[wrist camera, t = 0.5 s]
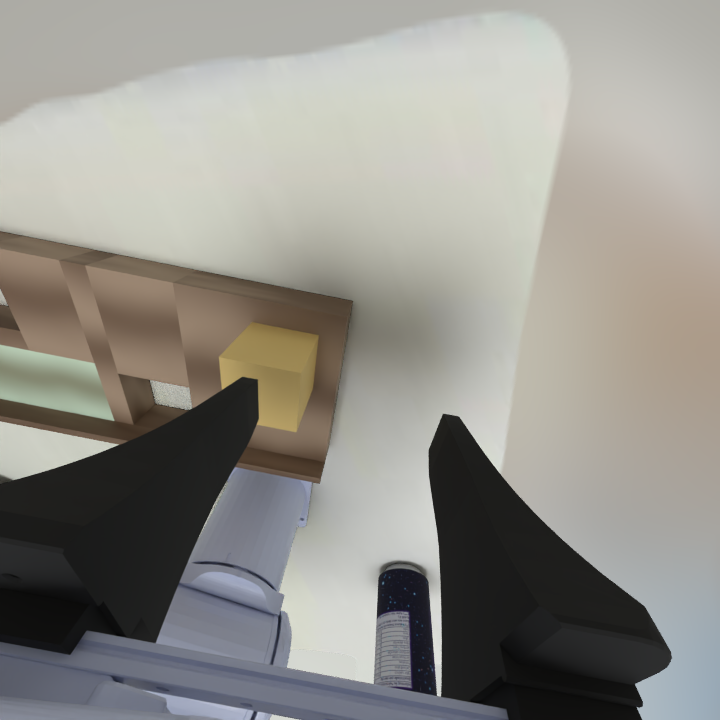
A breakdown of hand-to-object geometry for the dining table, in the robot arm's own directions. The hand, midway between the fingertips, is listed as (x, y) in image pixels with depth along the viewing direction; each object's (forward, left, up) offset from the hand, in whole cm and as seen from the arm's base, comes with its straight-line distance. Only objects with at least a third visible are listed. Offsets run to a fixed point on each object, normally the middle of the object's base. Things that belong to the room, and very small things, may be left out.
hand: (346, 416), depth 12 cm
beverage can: (-31, -10, -10) cm, 34 cm away
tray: (-6, +15, -9) cm, 18 cm away
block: (-3, +5, -7) cm, 9 cm away
